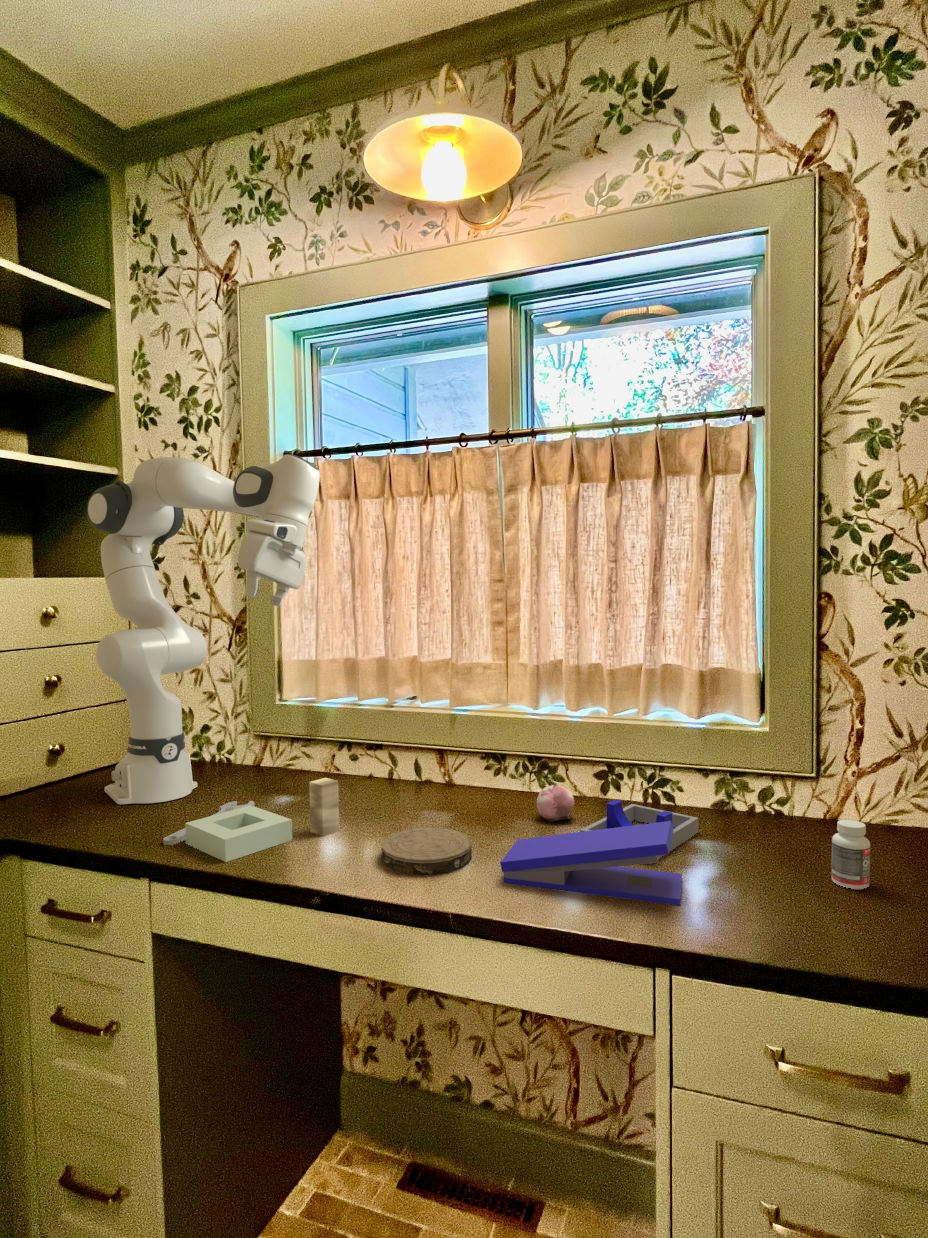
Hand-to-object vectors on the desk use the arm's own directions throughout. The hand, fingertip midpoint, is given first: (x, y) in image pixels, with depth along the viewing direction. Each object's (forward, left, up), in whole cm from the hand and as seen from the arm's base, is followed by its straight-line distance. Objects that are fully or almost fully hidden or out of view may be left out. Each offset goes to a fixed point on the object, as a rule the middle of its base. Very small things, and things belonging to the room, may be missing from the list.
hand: (263, 601), depth 143 cm
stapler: (+64, +18, -46) cm, 81 cm away
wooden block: (+11, +5, -45) cm, 47 cm away
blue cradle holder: (+61, +40, -45) cm, 86 cm away
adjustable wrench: (-12, -7, -46) cm, 48 cm away
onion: (+42, +40, -46) cm, 74 cm away
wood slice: (+36, +8, -46) cm, 59 cm away
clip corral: (+61, +40, -45) cm, 86 cm away
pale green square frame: (+3, -9, -45) cm, 46 cm away
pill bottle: (+96, +43, -46) cm, 115 cm away
